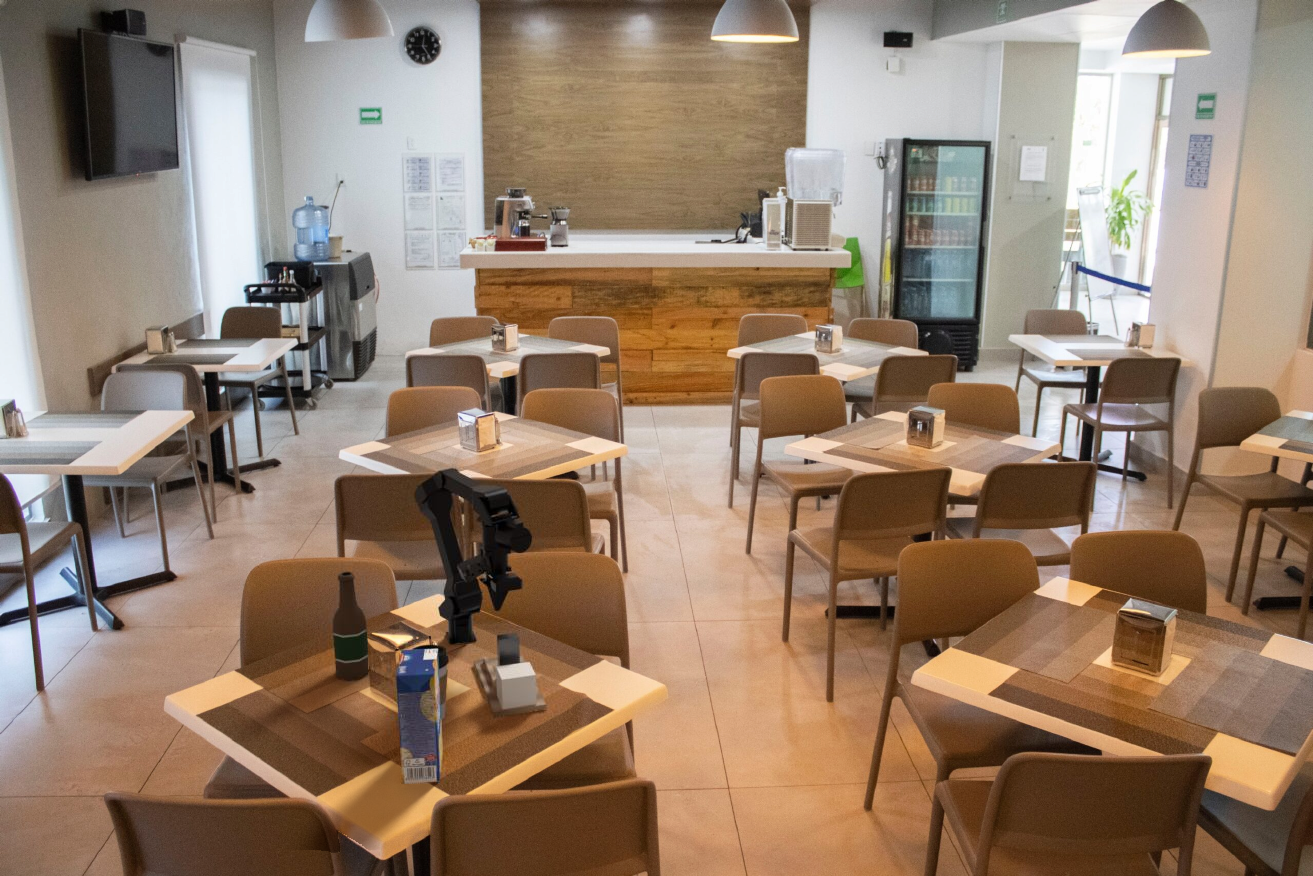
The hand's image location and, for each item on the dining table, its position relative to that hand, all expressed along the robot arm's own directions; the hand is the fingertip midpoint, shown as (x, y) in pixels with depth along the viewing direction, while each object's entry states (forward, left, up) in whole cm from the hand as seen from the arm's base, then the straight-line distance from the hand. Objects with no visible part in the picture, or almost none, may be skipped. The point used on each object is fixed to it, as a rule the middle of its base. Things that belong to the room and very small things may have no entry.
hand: (497, 610), depth 251 cm
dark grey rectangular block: (+17, 0, -12) cm, 20 cm away
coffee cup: (+20, -18, -13) cm, 30 cm away
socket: (+21, 0, -12) cm, 24 cm away
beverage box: (+39, -22, -13) cm, 47 cm away
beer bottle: (-5, -32, -13) cm, 35 cm away
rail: (+12, 0, -13) cm, 18 cm away
